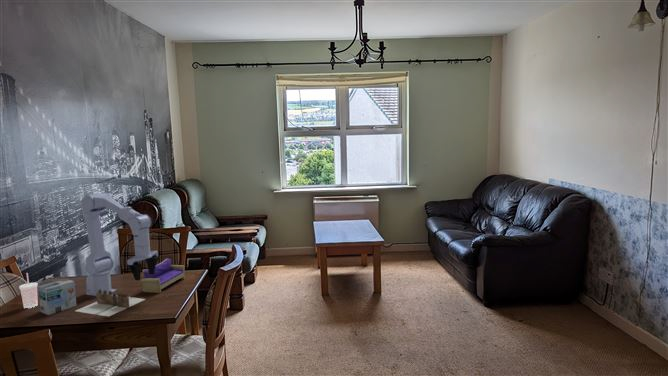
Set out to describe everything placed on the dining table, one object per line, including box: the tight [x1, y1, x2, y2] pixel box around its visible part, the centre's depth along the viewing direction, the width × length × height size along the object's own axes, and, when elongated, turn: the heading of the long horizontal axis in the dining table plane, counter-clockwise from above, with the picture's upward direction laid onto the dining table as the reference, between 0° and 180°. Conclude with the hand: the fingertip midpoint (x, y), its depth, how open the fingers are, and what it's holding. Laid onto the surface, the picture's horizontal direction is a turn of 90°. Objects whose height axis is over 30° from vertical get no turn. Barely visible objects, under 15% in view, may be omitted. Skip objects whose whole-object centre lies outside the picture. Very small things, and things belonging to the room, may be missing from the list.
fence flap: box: [95, 290, 117, 305], centre depth 168 cm, size 10×1×5 cm, turn 69°
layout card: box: [75, 296, 146, 317], centre depth 168 cm, size 18×18×1 cm
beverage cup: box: [18, 272, 39, 309], centre depth 170 cm, size 6×6×14 cm
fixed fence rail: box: [116, 292, 130, 309], centre depth 166 cm, size 5×1×5 cm, turn 69°
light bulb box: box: [37, 278, 77, 316], centre depth 165 cm, size 11×7×11 cm, turn 148°
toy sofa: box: [140, 258, 186, 294], centre depth 190 cm, size 21×9×10 cm, turn 168°
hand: (144, 277), depth 172 cm, fingers open, 7 cm apart
